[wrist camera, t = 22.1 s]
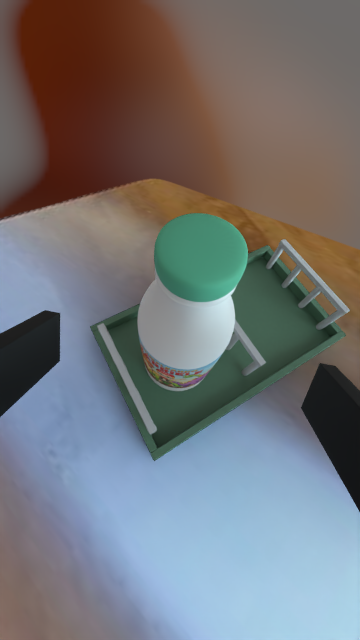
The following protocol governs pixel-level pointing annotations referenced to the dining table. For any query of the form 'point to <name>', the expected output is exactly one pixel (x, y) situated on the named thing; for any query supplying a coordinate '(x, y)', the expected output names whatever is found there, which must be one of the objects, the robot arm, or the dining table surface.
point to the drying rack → (227, 350)
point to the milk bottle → (190, 299)
